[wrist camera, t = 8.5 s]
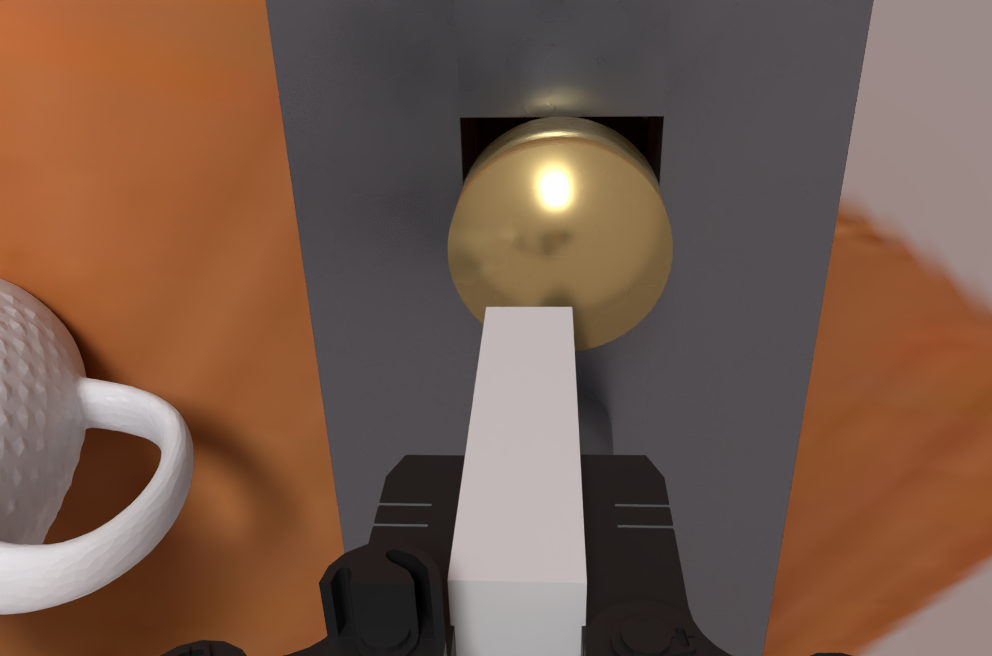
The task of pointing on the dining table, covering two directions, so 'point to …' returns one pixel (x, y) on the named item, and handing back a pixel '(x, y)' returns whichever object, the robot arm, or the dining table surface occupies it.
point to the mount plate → (689, 206)
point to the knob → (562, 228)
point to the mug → (71, 461)
